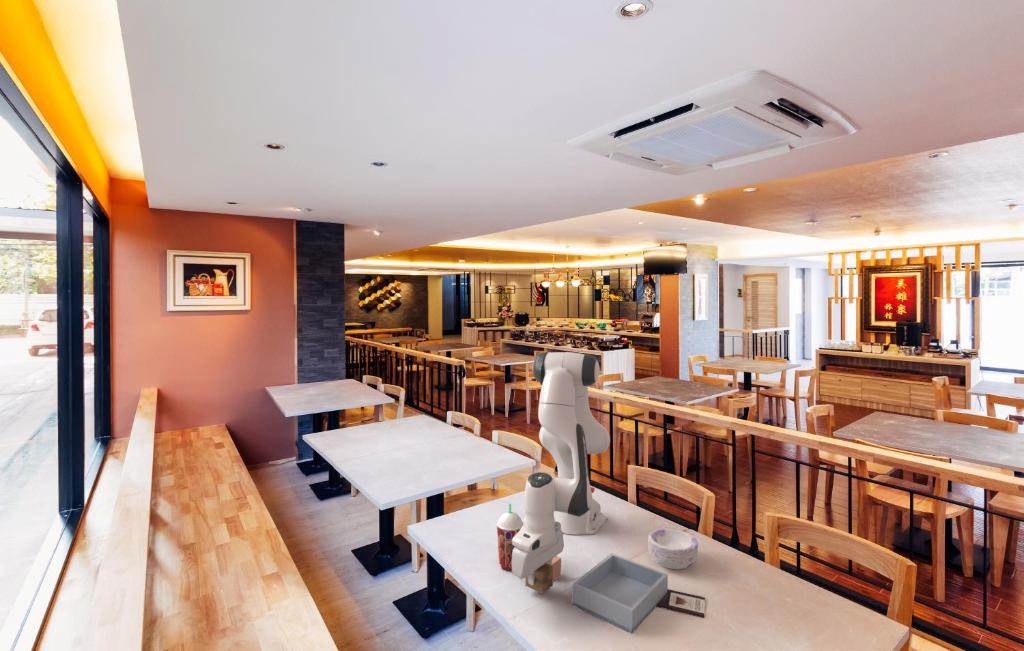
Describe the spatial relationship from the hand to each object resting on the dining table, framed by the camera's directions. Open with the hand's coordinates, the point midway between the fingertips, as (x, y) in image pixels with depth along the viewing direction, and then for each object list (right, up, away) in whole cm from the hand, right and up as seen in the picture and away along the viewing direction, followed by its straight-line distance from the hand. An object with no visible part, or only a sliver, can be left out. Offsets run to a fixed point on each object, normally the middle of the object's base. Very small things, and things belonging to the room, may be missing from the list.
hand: (539, 578), depth 144 cm
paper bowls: (+44, -4, +18) cm, 47 cm away
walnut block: (0, -2, 0) cm, 2 cm away
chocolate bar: (+37, -6, -3) cm, 37 cm away
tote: (+23, -5, -3) cm, 23 cm away
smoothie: (-8, -4, +15) cm, 17 cm away
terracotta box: (+4, -4, +9) cm, 11 cm away
